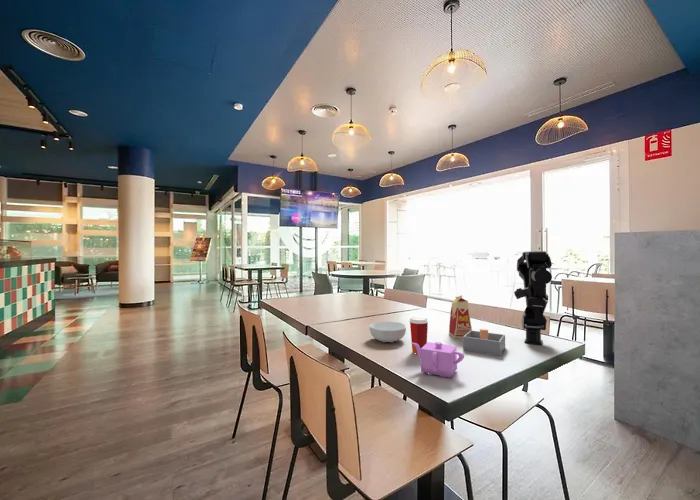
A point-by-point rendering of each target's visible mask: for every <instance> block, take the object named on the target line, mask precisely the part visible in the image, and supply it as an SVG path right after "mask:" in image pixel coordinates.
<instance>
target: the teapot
mask: <svg viewBox="0 0 700 500" xmlns="http://www.w3.org/2000/svg"><path fill="white" fill-rule="evenodd" d="M412 344H413V345H414V346H415V347H416V349H417V353H418V354H417V356H418V358H419V360H420V372H421V373H426V374H427V373H429V374H433V375H437V376H441V377H442V378H444V377H446V378H452V377H453V376H454V374H455V372H456V370H457V369H458V364H459V363H460V362H462V361H463V360H464V358H465V354H463V353H462V352H460V351H458V350H457V345H451V344H446V343H445V344H444V343H442V342H440V341H438V342H429V341H427V343H426V344H425V345H424V346H423V347H422V348H421V349H420V346H419V345H418V344H417V343H412V342H411V345H412ZM429 374H428V375H429Z"/></svg>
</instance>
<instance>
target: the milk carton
mask: <svg viewBox="0 0 700 500" xmlns="http://www.w3.org/2000/svg"><path fill="white" fill-rule="evenodd" d="M469 309H470V308H469V301H468V300H466V299H464V298H463V295H459V296H455V299H454V300H453V301H452V302H451V307H450V312H449V313H450V314H449V316H450V317H449V324H448V325H449V326H448V327H449V328H448V329H449V330H448V334H449V335H450V336H452V337H453V338H454V339H463V336H464V335H466V334H467V333H468V332H469V331H470V330H472V331H473V329H472V323H471V317H470V316H471V315H470V310H469Z"/></svg>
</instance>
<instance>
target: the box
mask: <svg viewBox="0 0 700 500" xmlns="http://www.w3.org/2000/svg"><path fill="white" fill-rule="evenodd" d="M462 344H463V345H462V349H463V351H469V352H475V353H480V354H486V355H493V356H497V357H501V356H502V354H503V353H504V351H505V349H506V334H501V333H493V332H488V340H486V339H480V330H479V331H478V330H473V329H472V330H470V331H469V332H468V333H467V334H466V335H464V336H463V338H462Z"/></svg>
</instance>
